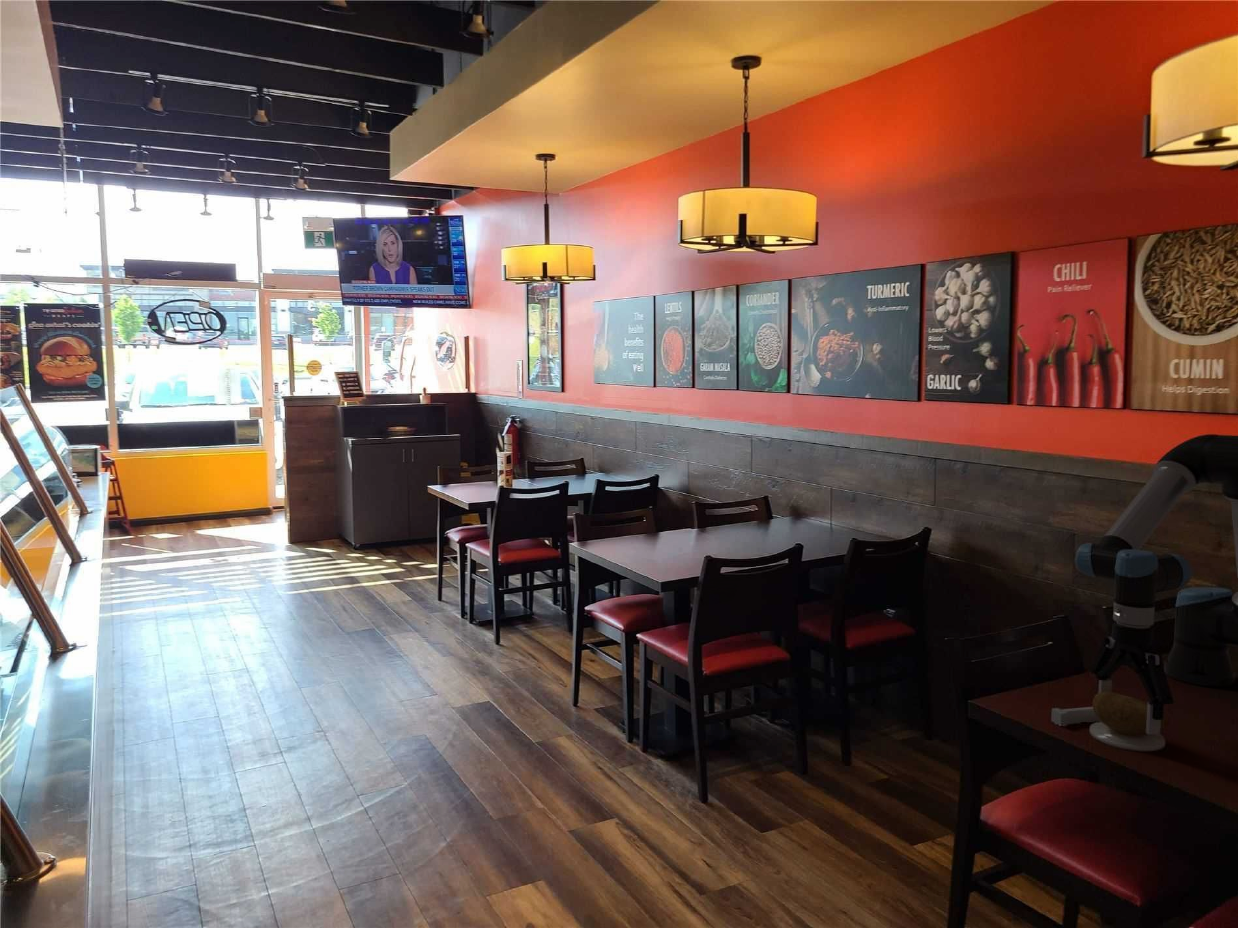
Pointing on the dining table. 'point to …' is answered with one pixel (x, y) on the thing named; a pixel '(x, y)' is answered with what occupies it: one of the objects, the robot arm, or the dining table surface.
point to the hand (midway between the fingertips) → (1127, 720)
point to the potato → (1122, 713)
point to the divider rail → (1073, 716)
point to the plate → (1127, 739)
